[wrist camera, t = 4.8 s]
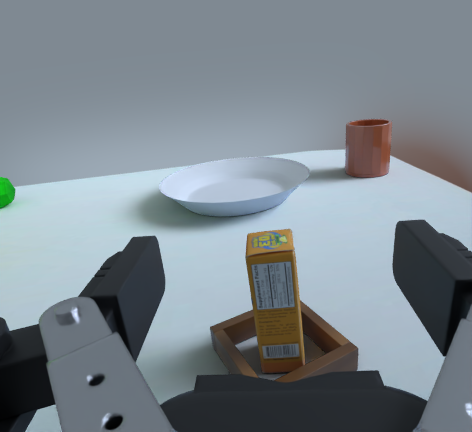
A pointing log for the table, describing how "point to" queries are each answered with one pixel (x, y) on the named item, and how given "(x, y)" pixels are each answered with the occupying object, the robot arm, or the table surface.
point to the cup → (368, 147)
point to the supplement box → (275, 300)
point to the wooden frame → (324, 335)
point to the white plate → (235, 185)
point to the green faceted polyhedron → (6, 192)
